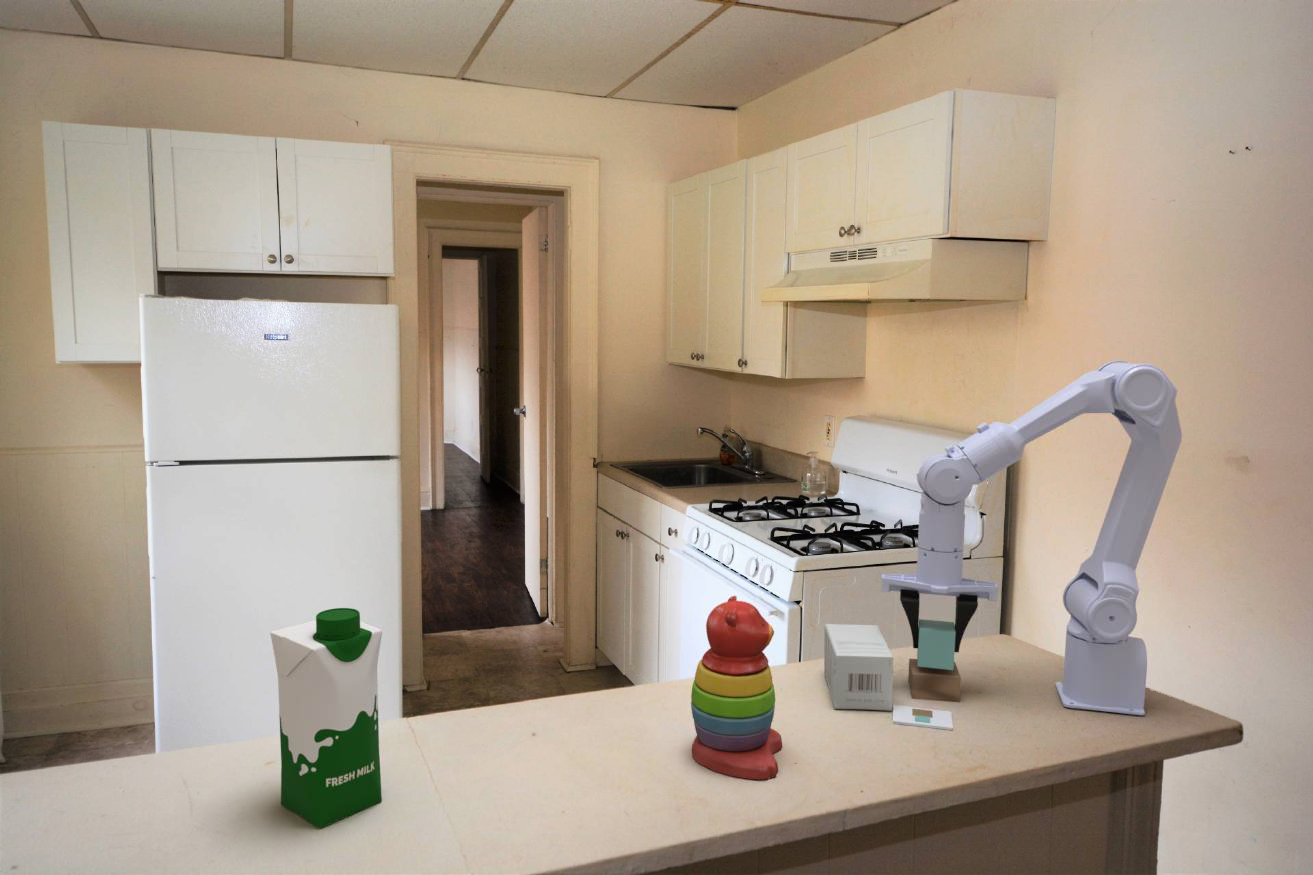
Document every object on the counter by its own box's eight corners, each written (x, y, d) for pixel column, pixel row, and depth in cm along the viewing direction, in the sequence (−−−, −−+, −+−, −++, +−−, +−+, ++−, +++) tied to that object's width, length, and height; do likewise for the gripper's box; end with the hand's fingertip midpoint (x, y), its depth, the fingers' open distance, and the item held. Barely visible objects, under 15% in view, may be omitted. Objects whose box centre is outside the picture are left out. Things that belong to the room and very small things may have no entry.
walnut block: (953, 686, 128) (955, 661, 128) (959, 704, 122) (960, 678, 122) (908, 683, 129) (909, 658, 129) (911, 700, 123) (912, 674, 123)
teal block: (952, 658, 127) (953, 622, 126) (953, 669, 122) (955, 632, 122) (917, 654, 128) (919, 618, 127) (917, 666, 123) (919, 629, 123)
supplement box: (892, 712, 118) (877, 674, 131) (894, 655, 118) (878, 623, 130) (833, 711, 119) (823, 673, 132) (834, 654, 118) (824, 622, 131)
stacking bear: (776, 782, 100) (781, 620, 98) (682, 772, 102) (685, 613, 100) (783, 739, 111) (788, 591, 108) (698, 730, 113) (701, 585, 110)
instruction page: (951, 713, 118) (951, 710, 118) (952, 730, 114) (952, 727, 113) (893, 707, 120) (893, 704, 120) (892, 723, 115) (892, 720, 115)
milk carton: (316, 836, 88) (309, 630, 86) (266, 804, 94) (258, 610, 92) (395, 801, 95) (391, 608, 93) (344, 773, 101) (339, 591, 98)
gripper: (882, 550, 121) (878, 652, 123) (1002, 558, 117) (996, 663, 119) (884, 538, 128) (879, 635, 130) (997, 546, 124) (991, 645, 126)
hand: (935, 647), depth 125 cm, fingers closed on teal block, 4 cm apart
